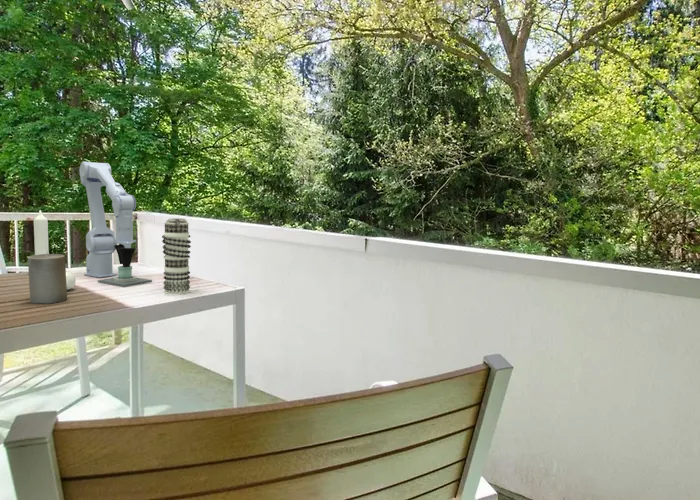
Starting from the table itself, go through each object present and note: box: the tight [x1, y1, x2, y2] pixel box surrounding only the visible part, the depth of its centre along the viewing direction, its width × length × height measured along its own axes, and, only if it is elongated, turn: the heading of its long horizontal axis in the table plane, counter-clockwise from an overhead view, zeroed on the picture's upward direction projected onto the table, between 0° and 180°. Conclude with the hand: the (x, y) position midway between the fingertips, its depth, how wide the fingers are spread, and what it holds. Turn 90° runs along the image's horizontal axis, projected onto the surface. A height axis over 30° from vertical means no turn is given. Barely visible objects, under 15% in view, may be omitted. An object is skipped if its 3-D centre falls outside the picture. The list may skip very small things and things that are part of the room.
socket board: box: [97, 275, 153, 288], centre depth 183 cm, size 14×12×2 cm
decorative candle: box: [161, 217, 192, 295], centre depth 168 cm, size 9×9×25 cm
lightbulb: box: [66, 270, 77, 291], centre depth 163 cm, size 6×6×11 cm
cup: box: [117, 265, 133, 279], centre depth 182 cm, size 5×5×5 cm
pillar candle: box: [27, 252, 68, 304], centre depth 150 cm, size 10×10×15 cm
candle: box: [33, 209, 50, 255], centre depth 189 cm, size 7×7×25 cm
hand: (124, 265), depth 182 cm, fingers open, 7 cm apart
